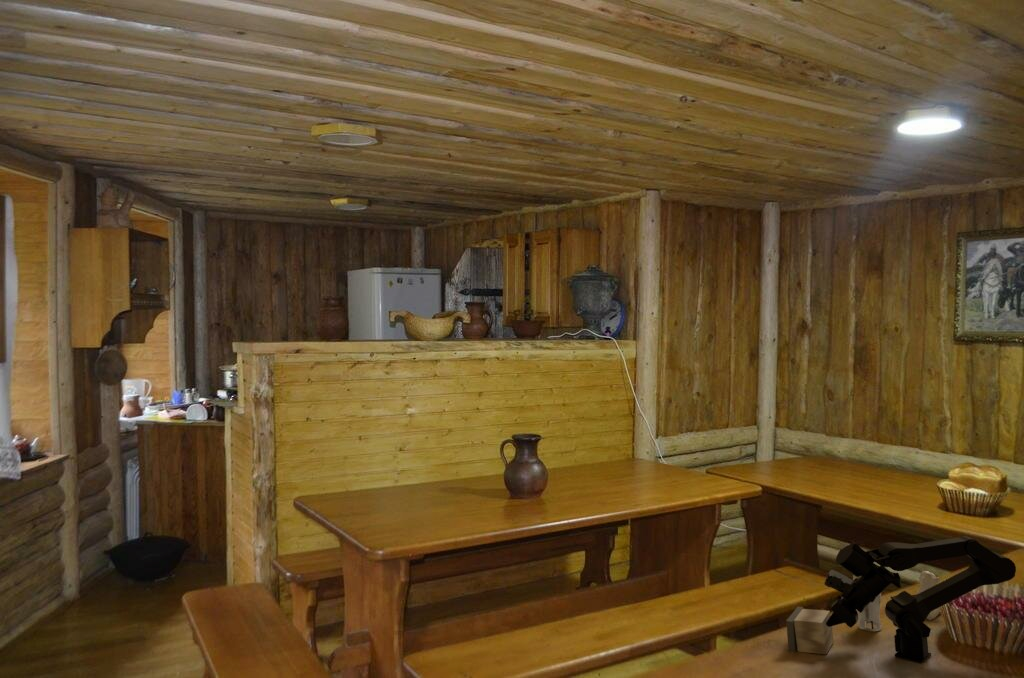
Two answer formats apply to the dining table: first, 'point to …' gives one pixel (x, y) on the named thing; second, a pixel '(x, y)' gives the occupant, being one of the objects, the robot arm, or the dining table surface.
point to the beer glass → (870, 615)
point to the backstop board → (792, 630)
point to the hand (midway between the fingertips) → (827, 624)
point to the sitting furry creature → (927, 582)
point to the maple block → (813, 631)
